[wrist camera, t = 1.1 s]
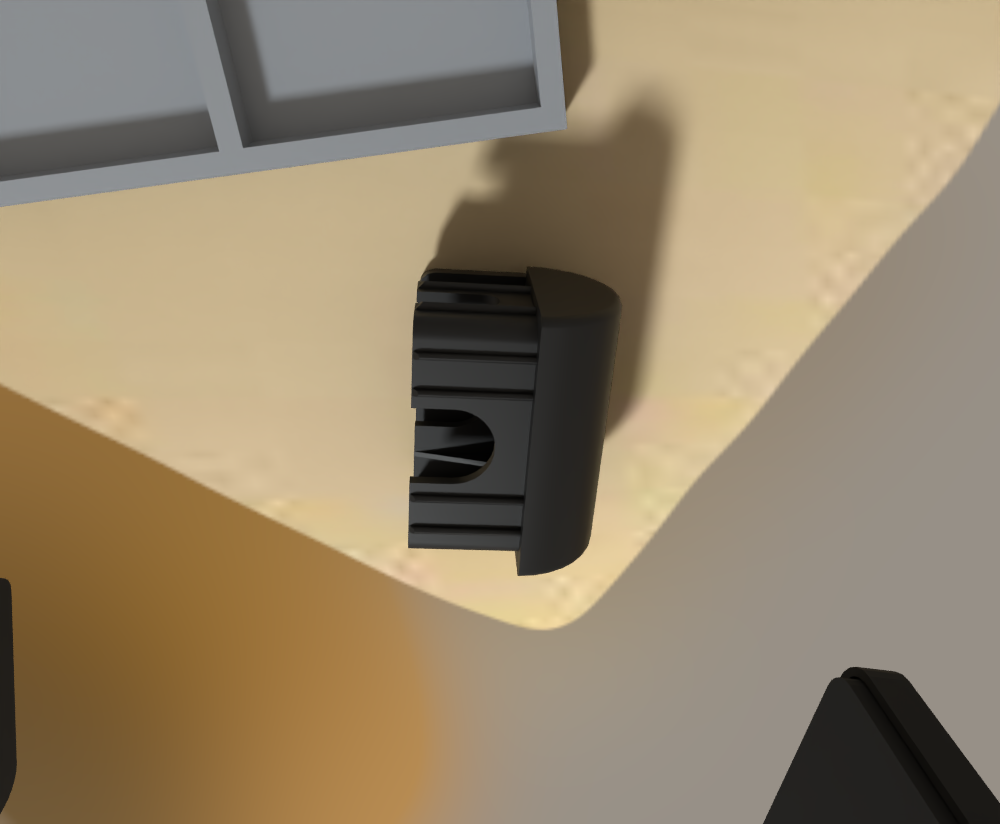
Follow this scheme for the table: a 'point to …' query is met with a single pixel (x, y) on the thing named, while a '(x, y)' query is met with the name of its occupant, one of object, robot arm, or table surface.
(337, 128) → the divided grey tray
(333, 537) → the table surface
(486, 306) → the end cap
